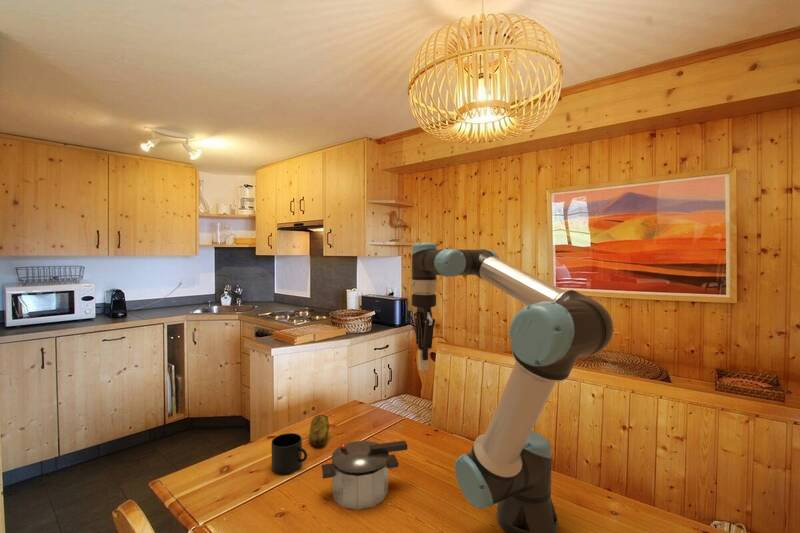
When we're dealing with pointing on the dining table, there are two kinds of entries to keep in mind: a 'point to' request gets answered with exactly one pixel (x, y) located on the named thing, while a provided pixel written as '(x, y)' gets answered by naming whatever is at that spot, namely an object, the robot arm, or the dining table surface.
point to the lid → (364, 455)
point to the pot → (359, 485)
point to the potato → (319, 430)
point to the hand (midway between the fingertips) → (423, 369)
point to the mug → (287, 453)
